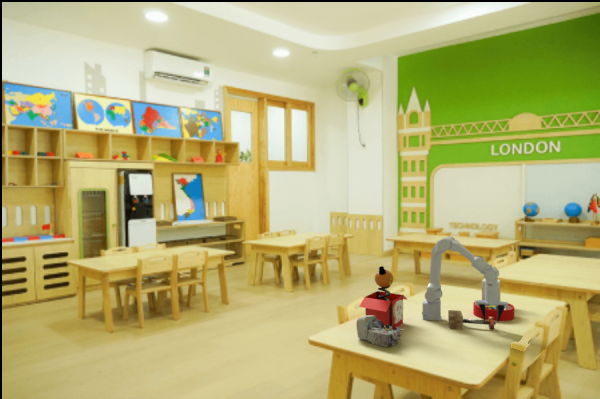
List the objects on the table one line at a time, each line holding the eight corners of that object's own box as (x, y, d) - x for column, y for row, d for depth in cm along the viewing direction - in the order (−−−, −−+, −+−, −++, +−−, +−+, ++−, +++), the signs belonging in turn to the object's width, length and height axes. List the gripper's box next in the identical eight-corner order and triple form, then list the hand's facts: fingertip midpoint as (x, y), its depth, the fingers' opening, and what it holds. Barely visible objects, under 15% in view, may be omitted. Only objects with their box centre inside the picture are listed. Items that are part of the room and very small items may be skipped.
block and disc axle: (462, 328, 212) (462, 316, 211) (461, 324, 217) (461, 313, 217) (496, 330, 208) (496, 318, 207) (494, 327, 213) (494, 315, 213)
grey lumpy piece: (365, 310, 207) (405, 318, 195) (364, 332, 207) (404, 342, 196) (352, 317, 196) (394, 326, 185) (351, 340, 197) (393, 351, 185)
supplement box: (500, 305, 251) (501, 279, 251) (498, 309, 244) (498, 282, 243) (484, 302, 256) (484, 277, 256) (481, 306, 249) (481, 280, 248)
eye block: (449, 329, 211) (449, 315, 211) (448, 322, 221) (448, 310, 221) (463, 330, 210) (463, 316, 209) (460, 323, 219) (460, 310, 219)
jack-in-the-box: (388, 334, 204) (388, 271, 203) (359, 328, 213) (358, 268, 212) (409, 320, 225) (409, 263, 224) (382, 315, 234) (382, 260, 233)
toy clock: (470, 299, 244) (508, 300, 240) (470, 309, 244) (508, 311, 240) (477, 309, 224) (519, 311, 220) (477, 320, 224) (519, 322, 221)
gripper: (476, 293, 208) (476, 321, 209) (509, 295, 205) (509, 323, 205) (474, 290, 215) (474, 317, 216) (506, 291, 211) (506, 319, 212)
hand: (491, 320), depth 211 cm, fingers open, 6 cm apart
